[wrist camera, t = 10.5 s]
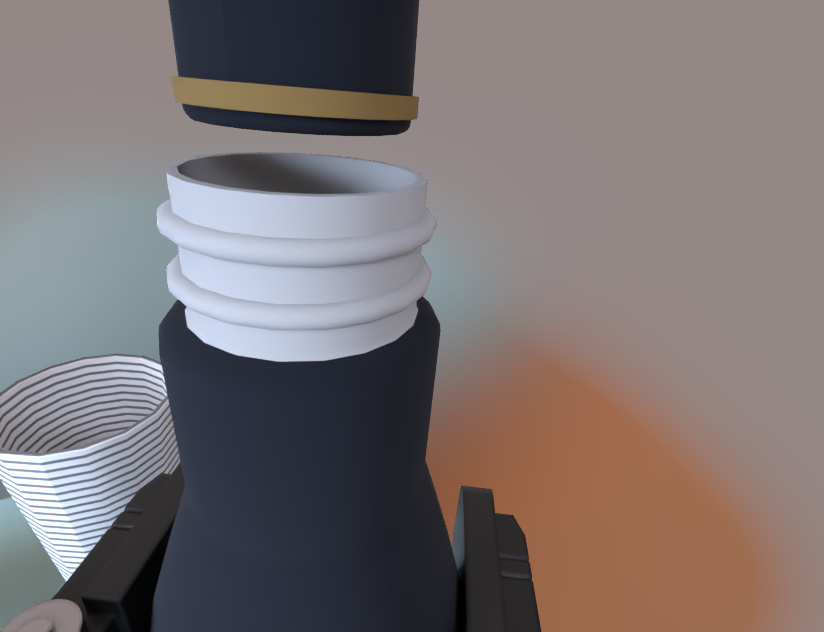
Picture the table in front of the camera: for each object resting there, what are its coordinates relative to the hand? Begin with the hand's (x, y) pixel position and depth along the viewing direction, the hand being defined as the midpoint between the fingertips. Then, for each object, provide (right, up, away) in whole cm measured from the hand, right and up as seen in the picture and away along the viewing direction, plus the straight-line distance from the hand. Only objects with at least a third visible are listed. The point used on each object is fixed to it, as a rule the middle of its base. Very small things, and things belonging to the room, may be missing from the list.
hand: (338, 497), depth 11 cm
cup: (-16, -14, +19) cm, 28 cm away
